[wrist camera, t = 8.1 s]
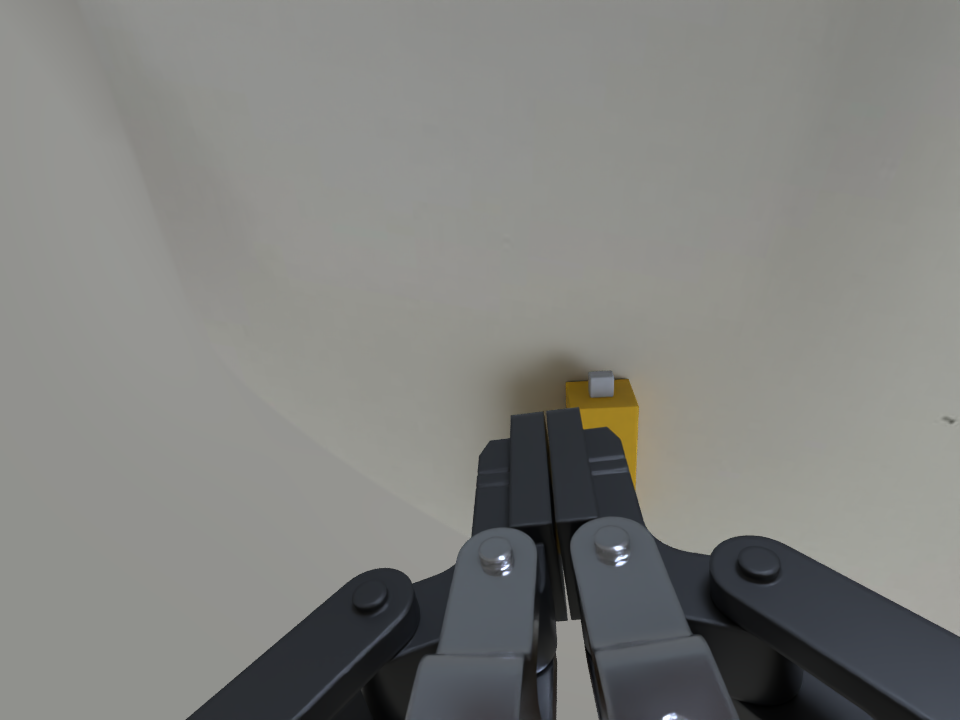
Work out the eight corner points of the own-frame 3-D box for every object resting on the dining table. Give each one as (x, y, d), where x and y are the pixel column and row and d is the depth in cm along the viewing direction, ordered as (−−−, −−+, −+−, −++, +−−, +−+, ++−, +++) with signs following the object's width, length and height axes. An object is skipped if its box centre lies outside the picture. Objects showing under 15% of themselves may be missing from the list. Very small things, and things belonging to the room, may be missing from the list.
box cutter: (624, 514, 30) (632, 549, 28) (568, 516, 30) (572, 551, 28) (629, 358, 26) (640, 384, 24) (565, 361, 26) (570, 388, 24)
